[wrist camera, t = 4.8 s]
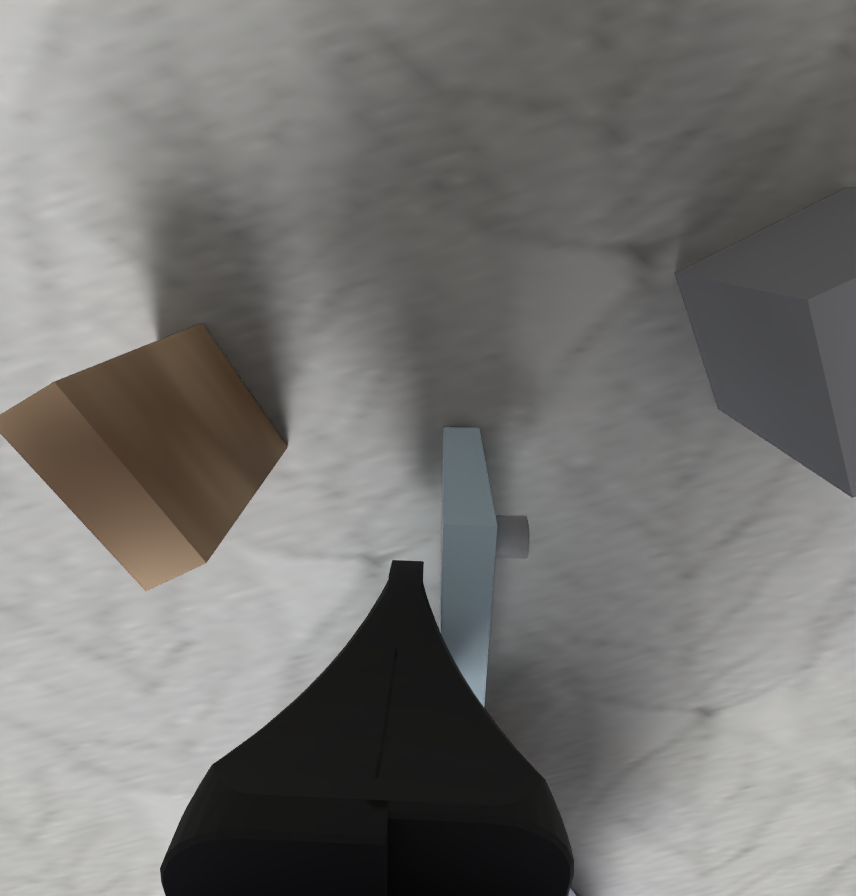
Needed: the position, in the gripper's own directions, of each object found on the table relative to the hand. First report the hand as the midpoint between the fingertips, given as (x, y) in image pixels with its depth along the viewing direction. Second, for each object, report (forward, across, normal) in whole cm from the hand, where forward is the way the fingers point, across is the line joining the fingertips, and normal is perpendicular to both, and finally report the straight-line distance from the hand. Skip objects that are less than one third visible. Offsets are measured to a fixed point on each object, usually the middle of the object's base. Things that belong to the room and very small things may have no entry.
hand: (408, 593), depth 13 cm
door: (+3, -2, +3) cm, 4 cm away
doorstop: (+3, -9, -7) cm, 12 cm away
